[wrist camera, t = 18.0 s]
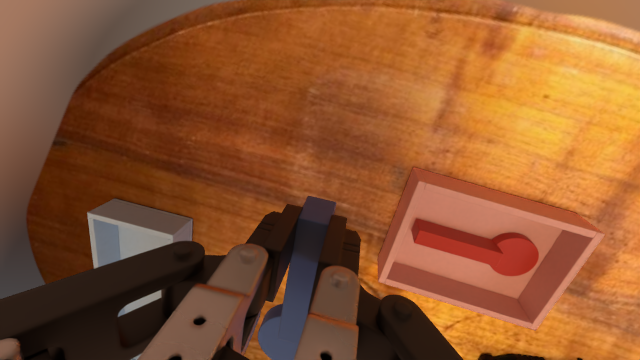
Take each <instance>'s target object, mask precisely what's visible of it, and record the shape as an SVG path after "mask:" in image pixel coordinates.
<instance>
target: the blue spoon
mask: <svg viewBox="0 0 640 360" xmlns="http://www.w3.org/2000/svg"><path fill="white" fill-rule="evenodd" d="M335 208H336V202H333V201H329V200H325V199H320V198H316V197H312V196H308V197H307V199H306V201H305V203H304V205H303V209H302V211H301V213H300V216H299V218H298V223H297V229H296V235H295V241H294V247H293V253H292V258H291V261H290V265H289V271H288V277H287V283H286V289H285V295H284V301H283V304H280V305H277V306H275V307H273V308H271V309H270V310H269V311H268V312H267V313H266V315H265V317H264V319H263V322H262V324H261V327H260V329H259V332H258V341H259V344H260V346H261V348H262V350H263V351H264V352H265V354H266V355H267V356H268V357H270V358H271V359H272V360H294V357H295V354H296V350H297V347H298V344H299V341H300V337H301V334H302V331H303V328H304V324H305V321H306V318H307V315H308V307H309V303H310V298H311V293H312V289H313V284H314V280H315V275H316V270H317V266H318V261H319V257H320V254H321V250H322V247H323V243H324V240H325V236H326V233H327V229H328V225H329V222H330V218H331V215H332V214H333V215H334V212H335Z"/></svg>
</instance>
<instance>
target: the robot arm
mask: <svg viewBox="0 0 640 360" xmlns="http://www.w3.org/2000/svg"><path fill="white" fill-rule="evenodd" d="M302 209H303V207H299V206H295V205H291V204H287V205H286V207H285V208H284V210H283V212H282V213H278V212H274V211H273V212H271V213H269V214H267V215H265V217H264V218H263V219H262V221H261V223H260V224H259V225H258V226H257V228H256V229H255V231H254V232H253V233H252V235H251V236H250V238H249V239H248V240H247V242H246V243H245V244H240V245H237V246H235V247H233V248H232V249H231V250H230V251H229V252H228V254H227V255H222V256H216V255H205V250H204V247H203V246H202V245H200V244H199V243H197V242H193V241H178V242H174V243H171V244H167V245H164V246H161V247H158V248H155V249H152V250H149V251H146V252H143V253H140V254H137V255H134V256H131V257H128V258H125V259H122V260H119V261H116V262H113V263H110V264H106V265H103V266H100V267H97V268H94V269H91V270H88V271H85V272H82V273H79V274H76V275H73V276H70V277H67V278H64V279H61V280H58V281H55V282H52V283H49V284H45V285H42V286H39V287H36V288H33V289H30V290H27V291H24V292H21V293H18V294H15V295H12V296H9V297H6V298H3V299H0V360H131V359H132V358H134V357H136V356H138V355H140V354H141V353H142V354H141V355H140V357H139V358H138V359H137V360H249V359H248V358H246V357H244V354H245V352H246V349H247V347H248V344H249V342H250V339H251V337H252V335H253V332H254V330H255V327H256V325H257V322H258V320H259V317H260V312H261V309H262V307H263V305H264V303H265V301H269V302H273V301H274V299H275V296H276V294H277V291H278V289H279V287H280V284H281V282H282V280H283V277H284V275H285V272H286V270H287V268H288V265H289V263H290V261H291V258H292V253H293V247H294V241H295V235H296V229H297V223H298V218H299V216H300V213H301V211H302ZM346 223H347V218H345V217H341V216H337V215H333V214H332V215H331V218H330V222H329V225H328V229H327V233H326V236H325V240H324V243H323V247H322V250H321V254H320V257H319V261H318V266H317V270H316V275H315V280H314V284H313V289H312V293H311V298H310V303H309V307H308V315H307V318H306V321H305V324H304V328H303V331H302V334H301V337H300V341H299V344H298V347H297V350H296V354H295V357H294V360H463V359H462V357H461V356H460V355H459V354H458V353H457V352H456V350H455V349H454V348H453V347H452V346H451V344H450V343H449V342H448V341H447V340H446V339H445V337H444V336H443V335H442V334H441V333H440V331H439V330H438V329H437V328H436V327H435V326H434V324H433V323H432V322H431V321H430V320H429V319H428V317H427V316H426V315H425V314H424V313H423V311H422V310H421V309H420V308H419V307H418V306H417V305H416V304H415V303H414V302H413V301H411V300H410V299H408V298H406V297H403V296H400V295H388V296H385V297H384V298H383V299H382V300H380V299H378V298H376V297H374V296H373V295H371V294H369V293H368V292H367V291H366V290H364V288H363V287H362V286H361V285H360V280H359V278H358V270H359V256H360V242H361V239H360V237H359V235H358V233H357V232H356V231H352V230H348V229H345V228H346ZM160 290H161V298H159V299H157V300H155V301H152V302H150V303H148V304H146V305H144V306H141V307H139V308H137V309H135V310H132V311H130V312H128V313H126V314H123V315H121V316H119V317H118V314H119V312H120V311H121V310H122V309H123V308H124V307H125V306H126V305H128V304H130V303H132V302H134V301H136V300H139V299H141V298H143V297H146V296H148V295H150V294H153V293H155V292H157V291H160Z"/></svg>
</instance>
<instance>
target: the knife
mask: <svg viewBox="0 0 640 360" xmlns="http://www.w3.org/2000/svg"><path fill="white" fill-rule="evenodd" d="M480 360H544V358H542V357H540V358H538V357H532V356H529V357H527V356H526V355H524V356H521V355H519V354H518V355H512V354H508V355H504V356H497V357H492V356H491V355H483V356H481V358H480ZM578 360H582V359H579V358H578Z"/></svg>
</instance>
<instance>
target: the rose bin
mask: <svg viewBox="0 0 640 360" xmlns="http://www.w3.org/2000/svg"><path fill="white" fill-rule="evenodd" d="M416 218H417V219H421V220H424V221H428V222H431V223H435V224H438V225H442V226H445V227H449V228H452V229H456V230H459V231H463V232H467V233H470V234H474V235H477V236H481V237H484V238H488V239H491V240H492V239H493V238H494V237H496V236H498V235H500V234H503V233H509V232H514V233H520V234H522V235H525V236H526V237H528V238H529V239H530V240H531V241H532V242H533V243H534V245H535V246H536V247H537V249H538V252H539V258H538V262H537V264H536V265H535V266H534V268H533V269H531V270H530V271H529V272H527V273H525V274H522V275H519V276H504V275H501V274H499V273H497V272H495V271H494V270H493V269H492V268H491V266H490V265H488V264H485V263H481V262H478V261H475V260H471V259H468V258H464V257H461V256H457V255H454V254H450V253H447V252H443V251H440V250H436V249H433V248H430V247H426V246H423V245H419V244H416V243H414V240H413V236H412V232H411V230H412V227H413V225H414V222H415V220H416ZM604 235H605V234H604V233H603V232H601V231H600V230H599V229H597V228H596V227H594V226H593V225H592V224H590V223H589V222H588V221H586V220H585V219H583V218H582V217H581V216H579V215H578V214H577V213H574V212H570V211H567V210H563V209H560V208H556V207H553V206H549V205H546V204H542V203H539V202H535V201H532V200H528V199H525V198H521V197H517V196H514V195H510V194H507V193H503V192H500V191H496V190H493V189H489V188H486V187H482V186H479V185H475V184H472V183H468V182H465V181H461V180H458V179H454V178H451V177H447V176H443V175H440V174H436V173H433V172H429V171H426V170H422V169H419V168H415V167H413V169H412V172H411V174H410V177H409V179H408V182H407V185H406V187H405V190H404V192H403V195H402V197H401V200H400V203H399V205H398V208H397V210H396V213H395V215H394V218H393V221H392V223H391V226H390V228H389V231H388V233H387V236H386V238H385V241H384V244H383V246H382V249H381V251H380V254H379V256H378V282H381V283H385V284H387V285H391V286H394V287H397V288H400V289H403V290H407V291H410V292H413V293H416V294H420V295H423V296H426V297H429V298H432V299H436V300H439V301H442V302H445V303H449V304H452V305H455V306H458V307H461V308H465V309H468V310H471V311H474V312H478V313H481V314H484V315H487V316H490V317H494V318H497V319H500V320H503V321H507V322H510V323H513V324H516V325H519V326H523V327H526V328H530V329H533V330H536V329H537V328H538V327H539V325H540V324H541V323H542V321H543V320H544V318H545V317H546V316H547V314H548V313H549V311H550V310H551V309H552V307H553V306H554V305H555V303H556V302H557V300H558V299H559V298H560V296H561V295H562V293H563V292H564V291H565V289H566V288H567V287H568V285H569V284H570V282H571V281H572V280H573V278H574V277H575V275H576V274H577V273H578V271H579V270H580V269H581V267H582V266H583V264H584V263H585V262H586V260H587V259H588V257H589V256H590V255H591V253H592V252H593V251H594V249H595V248H596V246H597V245H598V244H599V242H600V241H601V239H602V238H603V237H604Z"/></svg>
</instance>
